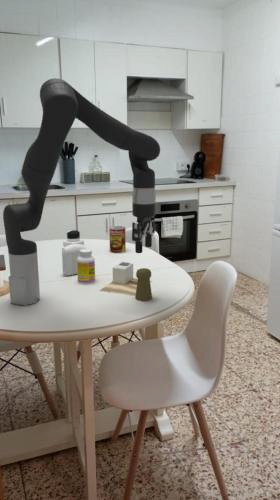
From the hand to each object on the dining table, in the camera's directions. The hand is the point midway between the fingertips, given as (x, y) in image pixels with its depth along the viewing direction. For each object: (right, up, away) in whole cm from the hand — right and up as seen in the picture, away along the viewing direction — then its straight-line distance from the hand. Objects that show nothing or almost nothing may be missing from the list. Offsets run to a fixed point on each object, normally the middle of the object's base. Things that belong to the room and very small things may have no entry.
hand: (143, 249), depth 137 cm
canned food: (-12, -1, +67) cm, 68 cm away
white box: (-8, -12, +22) cm, 26 cm away
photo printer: (-28, -10, +33) cm, 44 cm away
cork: (0, -17, +5) cm, 18 cm away
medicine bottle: (-33, -3, +60) cm, 68 cm away
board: (-6, -14, +17) cm, 23 cm away
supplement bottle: (-22, -13, +22) cm, 33 cm away
